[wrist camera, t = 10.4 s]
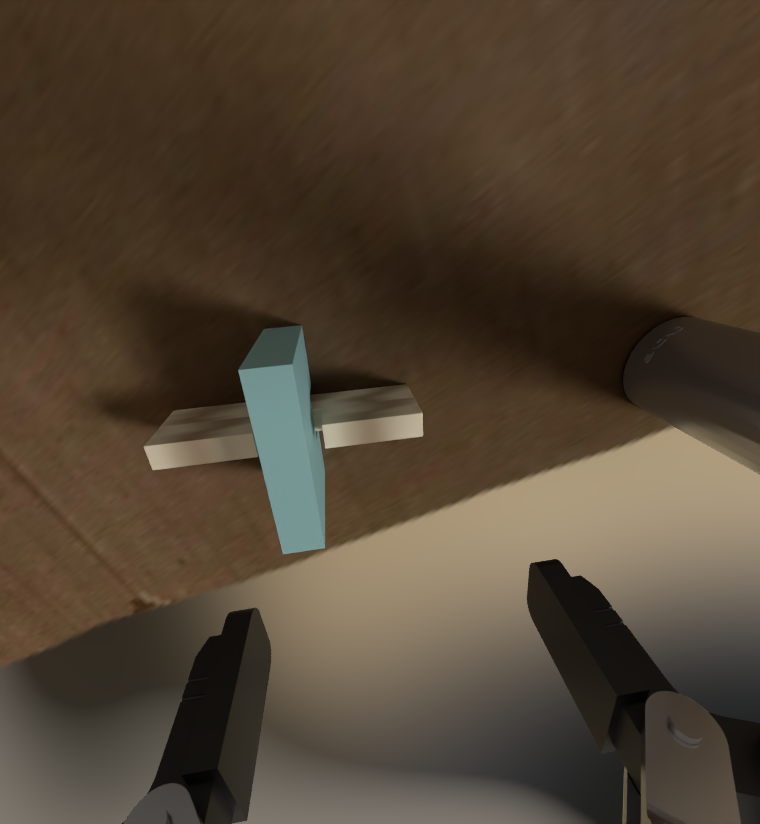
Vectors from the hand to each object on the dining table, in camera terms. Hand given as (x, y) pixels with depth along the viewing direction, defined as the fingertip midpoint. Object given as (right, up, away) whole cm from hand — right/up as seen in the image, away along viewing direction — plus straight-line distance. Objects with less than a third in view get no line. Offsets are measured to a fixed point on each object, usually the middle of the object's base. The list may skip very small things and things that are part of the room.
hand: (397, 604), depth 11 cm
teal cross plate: (-8, +6, +22) cm, 24 cm away
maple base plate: (-8, +6, +22) cm, 24 cm away
